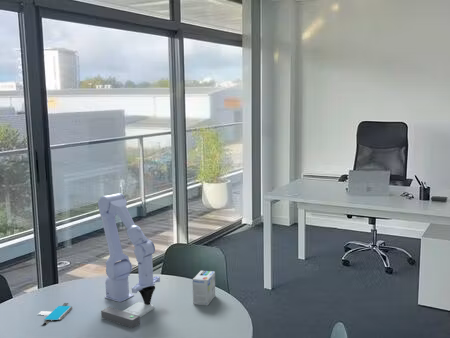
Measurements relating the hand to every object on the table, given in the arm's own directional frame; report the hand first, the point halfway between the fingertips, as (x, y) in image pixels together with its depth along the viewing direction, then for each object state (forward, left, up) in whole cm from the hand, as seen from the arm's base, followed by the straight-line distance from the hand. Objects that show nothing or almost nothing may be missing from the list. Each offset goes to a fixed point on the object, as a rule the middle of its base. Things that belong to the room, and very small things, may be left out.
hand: (147, 304), depth 189 cm
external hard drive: (0, -6, -2) cm, 6 cm away
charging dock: (0, -15, -1) cm, 15 cm away
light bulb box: (+16, +17, -1) cm, 24 cm away
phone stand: (-27, -24, -2) cm, 36 cm away
